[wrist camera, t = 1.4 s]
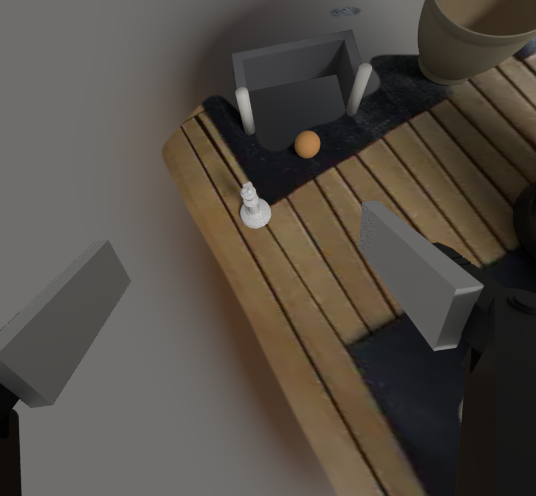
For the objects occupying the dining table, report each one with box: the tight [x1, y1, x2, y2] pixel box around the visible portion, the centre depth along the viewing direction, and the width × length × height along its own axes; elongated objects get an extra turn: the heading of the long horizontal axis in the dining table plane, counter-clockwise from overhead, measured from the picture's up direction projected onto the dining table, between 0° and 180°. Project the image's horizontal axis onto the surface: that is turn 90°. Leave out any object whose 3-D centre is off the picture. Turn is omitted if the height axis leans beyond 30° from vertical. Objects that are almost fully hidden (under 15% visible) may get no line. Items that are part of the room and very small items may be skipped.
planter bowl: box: [418, 0, 536, 85], centre depth 37 cm, size 16×16×11 cm
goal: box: [232, 30, 372, 135], centre depth 39 cm, size 10×19×8 cm, turn 99°
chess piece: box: [240, 182, 271, 228], centre depth 35 cm, size 5×5×10 cm
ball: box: [295, 131, 320, 158], centre depth 39 cm, size 4×4×4 cm
